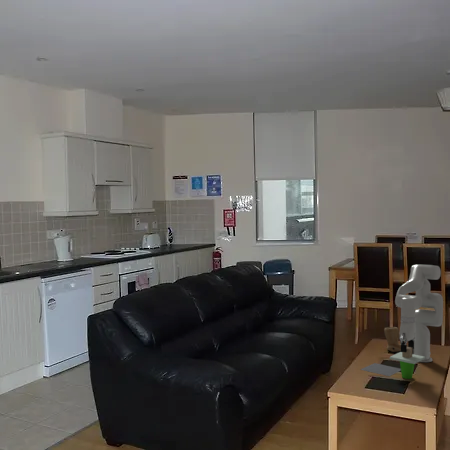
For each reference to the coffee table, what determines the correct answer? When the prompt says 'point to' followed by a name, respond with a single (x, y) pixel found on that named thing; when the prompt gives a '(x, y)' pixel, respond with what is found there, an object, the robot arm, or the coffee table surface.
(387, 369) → the mat
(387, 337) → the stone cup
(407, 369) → the cup
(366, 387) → the coffee table surface
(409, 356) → the lid
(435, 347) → the coffee table surface
